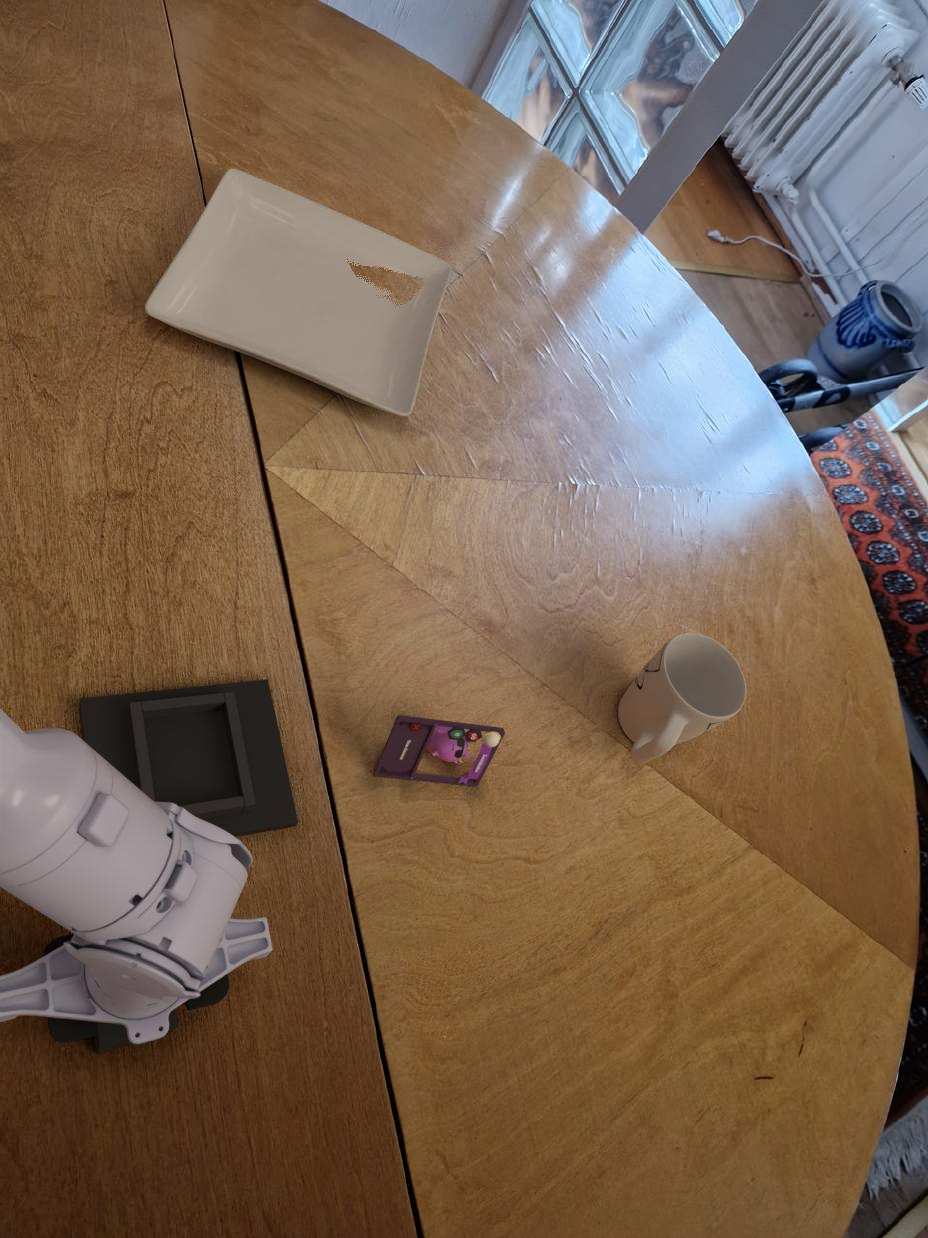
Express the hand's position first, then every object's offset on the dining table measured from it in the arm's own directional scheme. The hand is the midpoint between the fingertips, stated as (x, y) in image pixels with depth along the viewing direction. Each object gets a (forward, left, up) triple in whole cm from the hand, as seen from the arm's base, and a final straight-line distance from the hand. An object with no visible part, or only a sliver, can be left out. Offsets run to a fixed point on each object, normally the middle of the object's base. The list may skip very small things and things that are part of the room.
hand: (129, 991), depth 57 cm
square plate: (+26, +65, -2) cm, 70 cm away
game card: (+25, +13, -2) cm, 28 cm away
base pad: (+6, +15, -1) cm, 16 cm away
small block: (0, 0, -1) cm, 1 cm away
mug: (+47, +12, -2) cm, 49 cm away
